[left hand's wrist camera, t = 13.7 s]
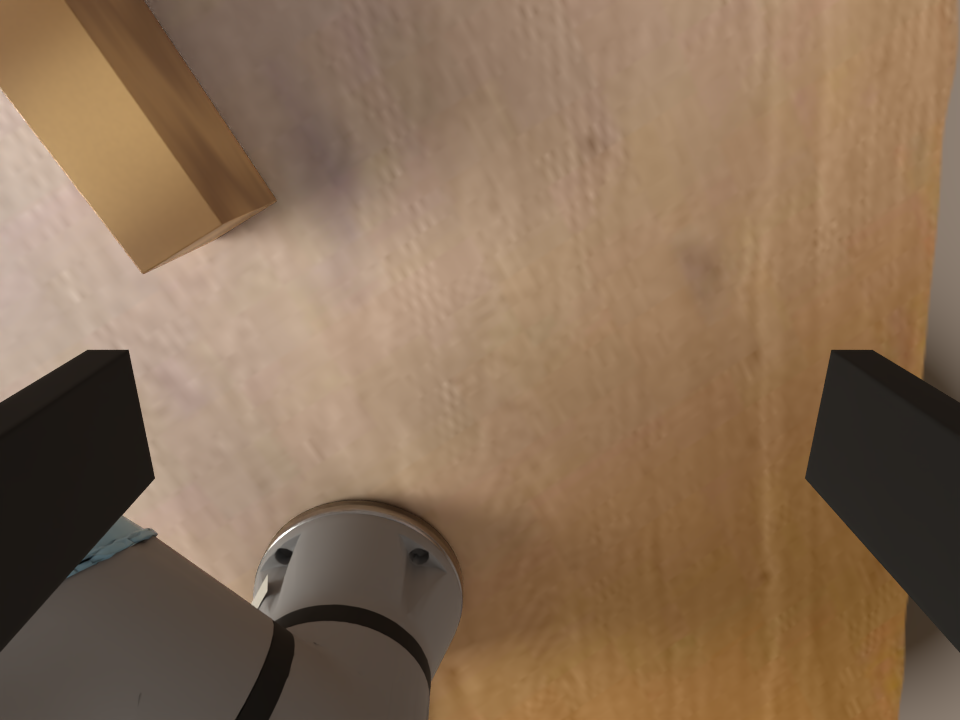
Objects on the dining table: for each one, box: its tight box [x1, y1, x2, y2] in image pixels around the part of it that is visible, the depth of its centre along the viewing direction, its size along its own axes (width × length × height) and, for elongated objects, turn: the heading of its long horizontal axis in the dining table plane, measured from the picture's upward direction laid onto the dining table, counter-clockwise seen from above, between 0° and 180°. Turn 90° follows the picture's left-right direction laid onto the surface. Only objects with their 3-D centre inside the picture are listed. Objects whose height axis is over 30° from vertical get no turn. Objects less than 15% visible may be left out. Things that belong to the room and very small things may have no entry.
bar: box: [0, 0, 276, 274], centre depth 32 cm, size 23×5×9 cm, turn 30°
